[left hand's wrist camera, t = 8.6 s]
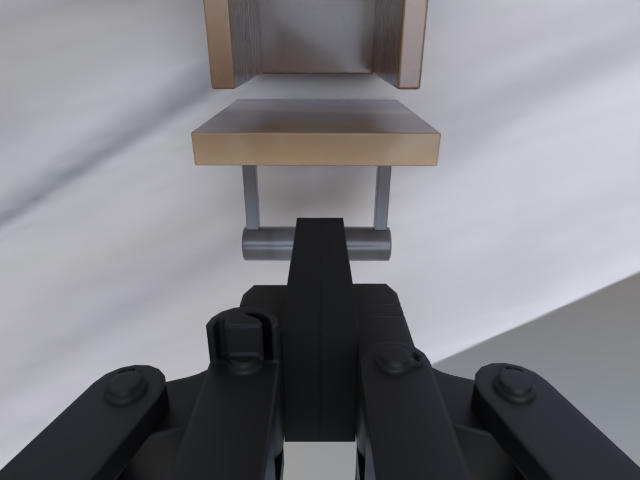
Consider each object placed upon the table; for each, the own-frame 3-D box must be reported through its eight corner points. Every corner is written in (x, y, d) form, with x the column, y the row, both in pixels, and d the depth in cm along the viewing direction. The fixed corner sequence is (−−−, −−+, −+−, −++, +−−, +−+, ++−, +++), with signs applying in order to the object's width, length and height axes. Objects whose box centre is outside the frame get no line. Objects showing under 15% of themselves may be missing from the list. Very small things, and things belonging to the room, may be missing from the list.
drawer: (388, 221, 27) (420, 306, 18) (246, 221, 27) (211, 306, 18) (427, -309, 17) (534, -653, 9) (207, -310, 17) (96, -655, 9)
